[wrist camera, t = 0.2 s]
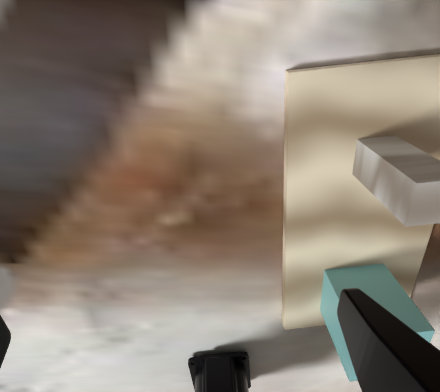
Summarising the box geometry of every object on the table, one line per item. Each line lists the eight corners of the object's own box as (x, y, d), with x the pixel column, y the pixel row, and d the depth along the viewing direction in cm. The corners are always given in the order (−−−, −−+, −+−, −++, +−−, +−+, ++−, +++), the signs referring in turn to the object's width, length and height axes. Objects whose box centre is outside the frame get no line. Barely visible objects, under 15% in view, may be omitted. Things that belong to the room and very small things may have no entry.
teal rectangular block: (374, 304, 29) (417, 374, 23) (319, 309, 29) (349, 381, 23) (383, 263, 26) (434, 330, 20) (324, 269, 26) (358, 338, 20)
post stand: (398, 308, 31) (451, 385, 24) (281, 321, 31) (303, 400, 24) (476, 49, 19) (621, 62, 12) (285, 70, 19) (329, 94, 12)
